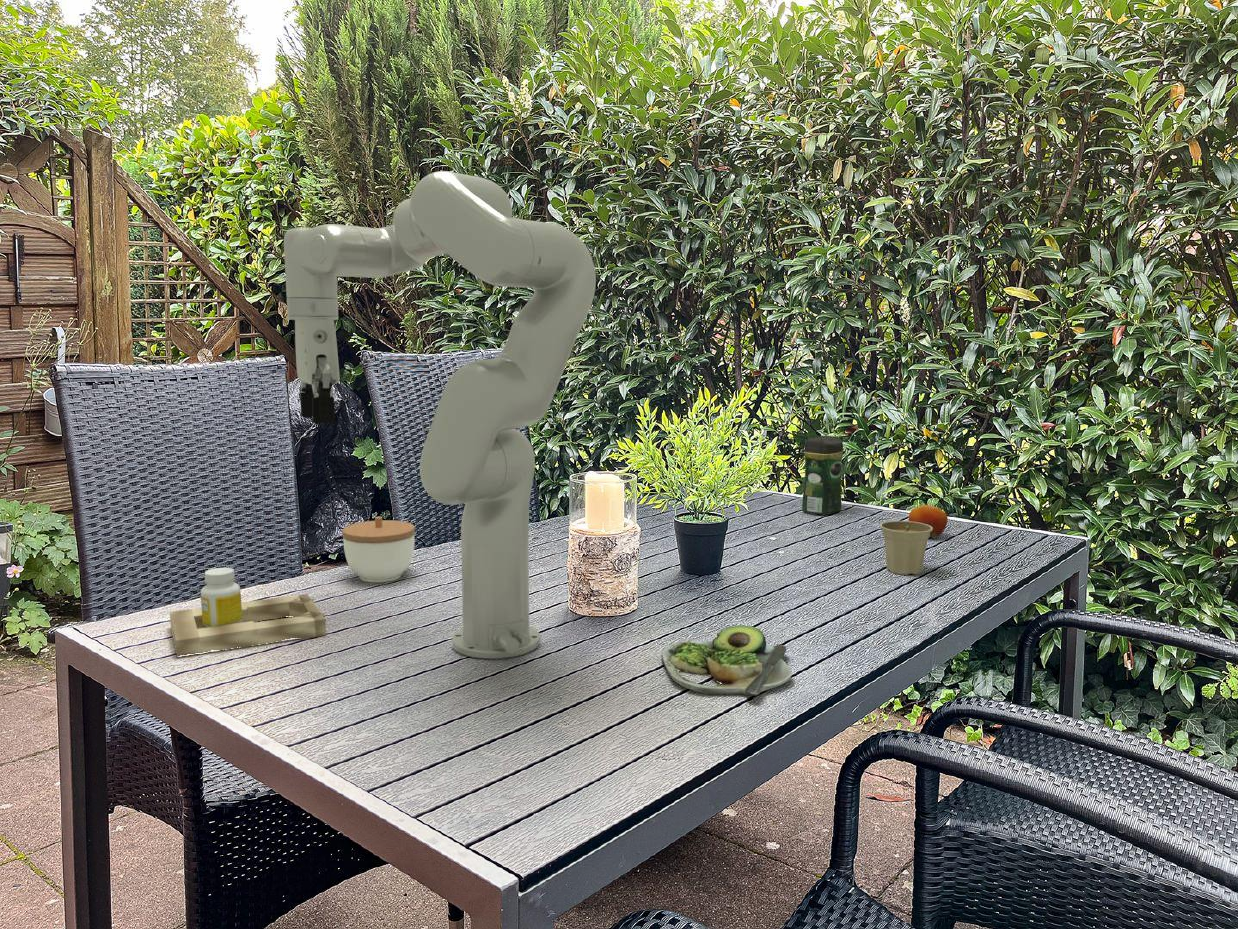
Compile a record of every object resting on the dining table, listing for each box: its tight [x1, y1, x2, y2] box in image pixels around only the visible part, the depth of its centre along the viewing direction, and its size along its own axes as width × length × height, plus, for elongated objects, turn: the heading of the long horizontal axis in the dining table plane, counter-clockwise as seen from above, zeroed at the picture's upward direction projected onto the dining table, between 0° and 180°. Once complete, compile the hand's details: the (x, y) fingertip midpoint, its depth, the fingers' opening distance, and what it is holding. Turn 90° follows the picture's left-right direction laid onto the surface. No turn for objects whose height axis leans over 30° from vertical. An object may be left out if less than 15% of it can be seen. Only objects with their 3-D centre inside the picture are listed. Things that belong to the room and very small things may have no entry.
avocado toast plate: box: [661, 624, 793, 696], centre depth 125 cm, size 19×18×5 cm
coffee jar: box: [801, 435, 844, 516], centre depth 226 cm, size 10×8×19 cm
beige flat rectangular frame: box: [169, 593, 327, 657], centre depth 140 cm, size 20×14×2 cm
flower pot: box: [879, 520, 933, 576], centre depth 175 cm, size 9×9×9 cm
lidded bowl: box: [341, 516, 416, 584], centre depth 168 cm, size 13×13×11 cm
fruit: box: [908, 504, 949, 541], centre depth 203 cm, size 8×8×8 cm
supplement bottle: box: [200, 567, 243, 628], centre depth 138 cm, size 5×5×10 cm
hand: (317, 420), depth 148 cm, fingers open, 9 cm apart
